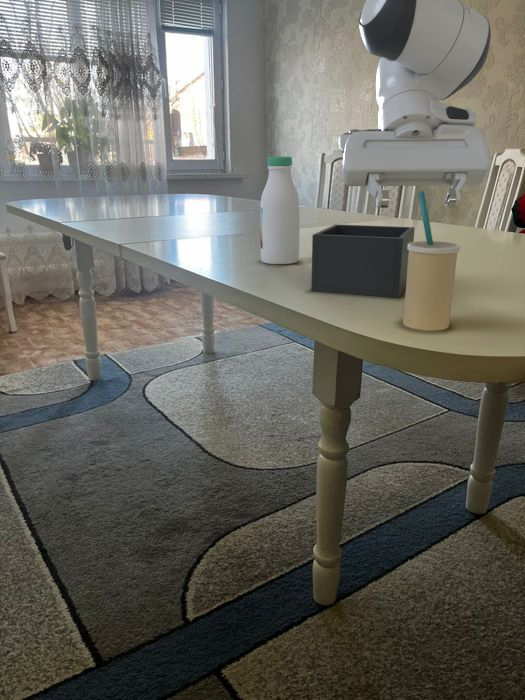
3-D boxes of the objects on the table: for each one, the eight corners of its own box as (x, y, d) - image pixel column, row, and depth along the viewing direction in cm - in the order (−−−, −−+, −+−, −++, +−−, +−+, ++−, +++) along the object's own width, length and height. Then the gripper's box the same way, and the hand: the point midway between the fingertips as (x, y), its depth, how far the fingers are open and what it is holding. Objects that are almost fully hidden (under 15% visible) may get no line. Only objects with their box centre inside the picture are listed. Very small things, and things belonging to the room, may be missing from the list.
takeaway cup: (452, 320, 70) (467, 189, 65) (449, 333, 65) (464, 193, 59) (404, 315, 72) (415, 189, 67) (398, 328, 67) (408, 192, 61)
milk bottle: (306, 261, 109) (308, 156, 103) (280, 266, 104) (280, 156, 97) (279, 256, 115) (279, 156, 108) (252, 261, 110) (251, 156, 103)
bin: (410, 279, 93) (414, 227, 90) (398, 298, 81) (403, 238, 78) (333, 274, 98) (334, 224, 95) (311, 290, 86) (312, 234, 83)
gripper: (340, 113, 77) (343, 189, 71) (487, 111, 76) (502, 188, 70) (336, 147, 83) (339, 219, 77) (473, 145, 82) (486, 219, 76)
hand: (418, 204), depth 73 cm, fingers open, 8 cm apart
